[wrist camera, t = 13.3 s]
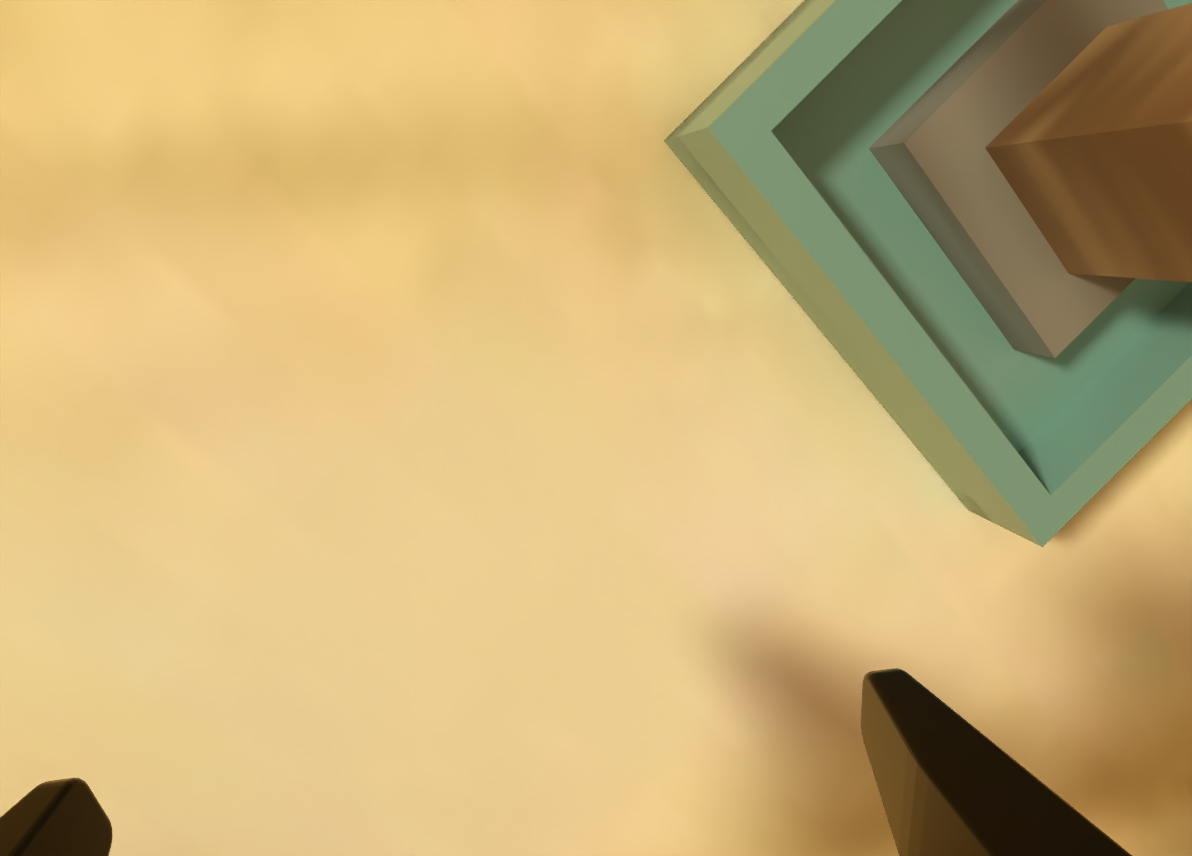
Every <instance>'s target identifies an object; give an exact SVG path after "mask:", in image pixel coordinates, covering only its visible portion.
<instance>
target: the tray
mask: <svg viewBox="0 0 1192 856" xmlns="http://www.w3.org/2000/svg"><path fill="white" fill-rule="evenodd" d="M1017 1H1018V0H805V1H804V2H803V3H802V4H801V5H800V6H799V7H798V8H797V9H796V10H795V11H794V12H793V13H792V14H791V15H790V16H789V17H788V18H787V19H786V20H785V21H784V22H783V23H782V24H781V25H780V26H779V27H778V28H777V29H776V30H775V31H774V32H773V33H772V34H771V35H770V36H769V37H768V38H767V39H766V40H765V41H764V42H763V43H762V44H761V45H760V46H759V47H758V48H757V49H756V50H755V51H754V52H753V53H752V54H751V55H750V56H749V57H748V58H747V59H746V60H745V61H744V62H743V63H742V64H741V65H740V66H739V67H738V68H737V69H736V70H735V71H734V72H733V73H732V74H731V75H730V76H729V77H728V78H727V79H726V80H725V81H724V82H723V83H722V84H721V85H720V86H719V87H718V88H717V89H716V90H715V91H714V92H713V93H712V94H711V95H710V96H709V97H708V98H707V99H706V100H705V101H704V102H703V103H702V104H701V105H700V106H699V107H698V108H697V109H696V110H695V111H694V112H693V113H692V114H691V115H690V116H689V117H688V118H687V119H686V120H685V121H684V122H683V123H682V124H681V125H680V126H679V127H678V128H677V129H676V130H675V131H674V132H673V133H672V134H671V135H669V136H668V137H667V138H666V139H665V140H664V141H665V142H666V143H667V145H668V146H669V147H670V148H671V149H672V151H673V152H674V153H675V154H676V156H677V157H678V158H679V159H680V160H681V162H682V163H683V164H684V165H685V166H686V168H687V169H688V170H689V171H690V173H691V174H692V175H693V176H694V177H695V179H696V180H697V181H698V182H699V183H700V185H701V186H702V187H703V188H704V190H705V191H706V192H707V193H708V194H709V196H710V197H711V198H712V199H713V200H714V202H715V203H716V204H717V205H718V207H719V208H720V209H721V210H722V211H723V213H724V214H725V215H726V216H727V217H728V219H729V220H730V221H731V222H732V224H733V225H734V226H735V227H736V228H737V230H738V231H739V232H740V233H741V234H742V236H743V237H744V238H745V239H746V241H747V242H748V243H749V244H750V245H751V247H752V248H753V249H754V250H755V251H756V253H757V254H758V255H759V256H760V258H761V259H762V260H763V261H764V262H765V264H766V265H767V266H768V267H769V268H770V270H771V271H772V272H773V273H774V275H775V276H776V277H777V278H778V279H779V281H780V282H781V283H782V284H783V286H784V287H785V288H786V289H787V290H788V292H789V293H790V294H791V295H792V296H793V298H794V299H795V300H796V301H797V303H798V304H799V305H800V306H801V307H802V309H803V310H804V311H805V312H806V313H807V315H808V316H809V317H810V318H811V320H812V321H813V322H814V323H815V324H816V326H817V327H818V328H819V329H820V330H821V332H822V333H823V334H824V335H825V337H826V338H827V339H828V340H829V341H830V343H831V344H832V345H833V346H834V347H835V349H836V350H837V351H838V352H839V354H840V355H841V356H842V357H843V358H844V360H845V361H846V362H847V363H848V364H849V366H850V367H851V368H852V369H853V371H854V372H855V373H856V374H857V375H858V377H859V378H860V379H861V380H862V381H863V383H864V384H865V385H866V386H867V388H868V389H869V390H870V391H871V392H872V394H873V395H874V396H875V397H876V398H877V400H878V401H879V402H880V403H881V405H882V406H883V407H884V408H885V409H886V411H887V412H888V413H889V414H890V415H891V417H892V418H893V419H894V420H895V422H896V423H897V424H898V425H899V426H900V428H901V429H902V430H903V431H904V432H905V434H906V435H907V436H908V437H909V439H910V440H911V441H912V442H913V443H914V445H915V446H916V447H917V448H918V449H919V451H920V452H921V453H922V454H923V456H924V457H925V458H926V459H927V460H928V462H929V463H930V464H931V465H932V466H933V468H934V469H935V470H936V471H937V473H938V474H939V475H940V476H941V477H942V479H943V480H944V481H945V482H946V483H947V485H948V486H949V487H950V488H951V490H952V491H953V492H954V493H955V494H956V496H957V497H958V498H959V499H960V500H961V502H962V503H963V504H964V505H965V507H966V508H967V509H968V510H969V511H971V512H973V513H975V514H977V515H979V516H981V517H983V518H985V519H987V520H989V521H991V522H993V523H995V524H997V525H999V526H1001V527H1003V528H1005V529H1007V530H1009V531H1011V532H1013V533H1015V534H1017V535H1019V536H1021V537H1023V538H1025V539H1027V540H1029V541H1031V542H1033V543H1035V544H1037V545H1039V546H1041V547H1043V546H1044V545H1045V544H1046V543H1047V542H1048V541H1049V540H1050V539H1051V538H1052V537H1053V536H1054V535H1055V534H1056V533H1057V532H1058V531H1059V530H1060V529H1061V528H1062V527H1063V526H1064V525H1065V524H1066V523H1067V522H1068V521H1069V520H1070V519H1071V518H1072V517H1073V516H1074V515H1075V514H1076V513H1077V512H1078V511H1079V510H1080V509H1081V508H1082V507H1083V506H1084V505H1085V504H1086V503H1087V502H1088V501H1089V500H1090V499H1091V498H1092V497H1093V496H1094V495H1095V494H1096V493H1097V492H1098V491H1099V490H1100V489H1101V488H1102V487H1103V486H1104V485H1106V484H1107V483H1108V482H1109V481H1110V480H1111V479H1112V478H1113V477H1114V476H1115V475H1116V474H1117V473H1118V472H1119V471H1120V470H1121V469H1122V468H1123V467H1124V466H1125V465H1126V464H1127V463H1128V462H1129V461H1130V460H1131V459H1132V458H1133V457H1134V456H1135V455H1136V454H1137V453H1138V452H1139V451H1140V450H1141V449H1142V448H1143V447H1144V446H1145V445H1146V444H1147V443H1148V442H1149V441H1150V440H1151V439H1152V438H1153V437H1154V436H1155V435H1156V434H1157V433H1158V432H1159V431H1160V430H1161V429H1162V428H1163V427H1164V426H1165V425H1166V424H1167V423H1168V422H1169V421H1170V420H1171V419H1172V418H1173V417H1174V416H1175V415H1176V414H1177V413H1178V412H1179V411H1180V410H1181V409H1182V408H1183V407H1184V406H1185V405H1186V404H1187V403H1188V402H1189V401H1190V400H1191V399H1192V282H1180V281H1167V280H1153V279H1139V278H1135V279H1134V280H1133V281H1132V282H1131V283H1130V284H1129V285H1128V286H1127V287H1126V288H1125V289H1124V290H1123V291H1122V292H1121V293H1120V294H1119V295H1118V296H1117V297H1116V298H1115V299H1114V300H1113V301H1112V302H1111V303H1110V304H1109V305H1108V306H1107V307H1106V308H1105V309H1104V310H1103V311H1102V312H1101V313H1100V314H1099V315H1098V316H1097V317H1096V318H1095V319H1094V320H1093V321H1092V322H1091V323H1090V324H1089V325H1088V326H1087V327H1086V328H1085V329H1084V330H1083V331H1082V332H1081V333H1080V334H1079V335H1078V336H1077V337H1076V338H1075V339H1074V340H1073V341H1072V342H1071V343H1070V344H1069V345H1068V346H1067V347H1066V348H1065V349H1064V350H1063V351H1062V352H1061V353H1060V354H1059V355H1058V356H1057V357H1056V358H1052V357H1047V356H1042V355H1037V354H1032V353H1028V352H1023V351H1018V350H1014V349H1013V348H1012V346H1011V345H1010V344H1009V342H1008V341H1007V339H1006V338H1005V337H1004V335H1003V334H1002V332H1001V331H1000V330H999V328H998V327H997V326H996V324H995V323H994V321H993V320H992V319H991V317H990V316H989V314H988V313H987V312H986V310H985V309H984V308H983V306H982V305H981V303H980V302H979V301H978V299H977V298H976V296H975V295H974V294H973V292H972V291H971V290H970V288H969V287H968V285H967V284H966V283H965V281H964V280H963V278H962V277H961V276H960V274H959V273H958V272H957V270H956V269H955V267H954V266H953V265H952V263H951V262H950V260H949V259H948V258H947V256H946V255H945V254H944V252H943V251H942V249H941V248H940V247H939V245H938V244H937V242H936V241H935V240H934V238H933V237H932V236H931V234H930V233H929V231H928V230H927V229H926V227H925V226H924V224H923V223H922V222H921V220H920V219H919V218H918V216H917V215H916V213H915V212H914V211H913V209H912V208H911V206H910V205H909V204H908V202H907V201H906V200H905V198H904V197H903V195H902V194H901V193H900V191H899V190H898V188H897V187H896V186H895V184H894V183H893V182H892V180H891V179H890V177H889V176H888V175H887V173H886V172H885V170H884V169H883V168H882V166H881V165H880V164H879V162H878V161H877V159H876V158H875V157H874V155H873V154H872V152H871V151H870V150H869V148H870V147H871V146H872V145H873V144H874V143H875V142H876V141H877V140H878V139H879V138H880V137H881V136H882V135H883V134H884V133H885V132H886V131H887V130H888V129H889V128H890V127H891V126H892V125H893V124H894V123H895V122H896V121H897V120H898V119H899V118H900V117H901V116H902V115H903V114H904V113H905V112H906V111H907V110H908V109H909V108H910V107H911V106H912V105H913V104H914V103H915V102H916V101H917V100H918V99H919V98H920V97H921V96H922V95H923V94H924V93H925V92H926V91H927V90H928V89H929V88H930V87H931V86H932V85H933V84H934V83H935V82H936V81H937V80H938V79H939V78H940V77H941V76H942V75H943V74H944V73H945V72H946V71H947V70H948V69H949V68H950V67H951V66H952V65H953V64H954V63H955V62H956V61H957V60H958V59H959V58H960V57H961V56H962V55H963V54H964V53H965V52H966V51H967V50H968V49H969V48H970V47H971V46H972V45H973V44H974V43H975V42H976V41H977V40H978V39H979V38H980V37H981V36H982V35H983V34H984V33H985V32H986V31H987V30H988V29H989V28H990V27H991V26H992V25H993V24H994V23H995V22H996V21H997V20H998V19H999V18H1000V17H1001V16H1002V15H1003V14H1004V13H1005V12H1006V11H1007V10H1008V9H1009V8H1010V7H1011V6H1012V5H1013V4H1015V3H1016V2H1017ZM1163 1H1164V3H1165V4H1166V6H1167V8H1168V9H1172V8H1176V7H1179V6H1183V5H1186V4H1190V3H1192V0H1163Z"/></svg>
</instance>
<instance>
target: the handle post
mask: <svg viewBox="0 0 1192 856" xmlns="http://www.w3.org/2000/svg"><path fill="white" fill-rule="evenodd" d="M869 150H870V151H871V152H872V154H873V155H874V157H875V158H876V159H877V161H878V162H879V164H880V165H881V166H882V168H883V169H884V170H885V172H886V173H887V175H888V176H889V177H890V179H891V180H892V182H893V183H894V184H895V186H896V187H897V188H898V190H899V191H900V193H901V194H902V195H903V197H904V198H905V200H906V201H907V202H908V204H909V205H910V206H911V208H912V209H913V211H914V212H915V213H916V215H917V216H918V218H919V219H920V220H921V222H922V223H923V224H924V226H925V227H926V229H927V230H928V231H929V233H930V234H931V236H932V237H933V238H934V240H935V241H936V242H937V244H938V245H939V247H940V248H941V249H942V251H943V252H944V254H945V255H946V256H947V258H948V259H949V260H950V262H951V263H952V265H953V266H954V267H955V269H956V270H957V272H958V273H959V274H960V276H961V277H962V278H963V280H964V281H965V283H966V284H967V285H968V287H969V288H970V290H971V291H972V292H973V294H974V295H975V296H976V298H977V299H978V301H979V302H980V303H981V305H982V306H983V308H984V309H985V310H986V312H987V313H988V314H989V316H990V317H991V319H992V320H993V321H994V323H995V324H996V326H997V327H998V328H999V330H1000V331H1001V332H1002V334H1003V335H1004V337H1005V338H1006V339H1007V341H1008V342H1009V344H1010V345H1011V346H1012V348H1013V349H1014V350H1018V351H1023V352H1028V353H1032V354H1037V355H1042V356H1047V357H1052V358H1056V357H1057V356H1058V355H1059V354H1060V353H1061V352H1062V351H1063V350H1064V349H1065V348H1066V347H1067V346H1068V345H1069V344H1070V343H1071V342H1072V341H1073V340H1074V339H1075V338H1076V337H1077V336H1078V335H1079V334H1080V333H1081V332H1082V331H1083V330H1084V329H1085V328H1086V327H1087V326H1088V325H1089V324H1090V323H1091V322H1092V321H1093V320H1094V319H1095V318H1096V317H1097V316H1098V315H1099V314H1100V313H1101V312H1102V311H1103V310H1104V309H1105V308H1106V307H1107V306H1108V305H1109V304H1110V303H1111V302H1112V301H1113V300H1114V299H1115V298H1116V297H1117V296H1118V295H1119V294H1120V293H1121V292H1122V291H1123V290H1124V289H1125V288H1126V287H1127V286H1128V285H1129V284H1130V283H1131V282H1132V281H1133V280H1134V279H1135V278H1139V279H1153V280H1167V281H1180V282H1192V3H1190V4H1186V5H1183V6H1179V7H1176V8H1172V9H1168V8H1167V6H1166V4H1165V3H1164V1H1163V0H1018V1H1017V2H1016V3H1015V4H1013V5H1012V6H1011V7H1010V8H1009V9H1008V10H1007V11H1006V12H1005V13H1004V14H1003V15H1002V16H1001V17H1000V18H999V19H998V20H997V21H996V22H995V23H994V24H993V25H992V26H991V27H990V28H989V29H988V30H987V31H986V32H985V33H984V34H983V35H982V36H981V37H980V38H979V39H978V40H977V41H976V42H975V43H974V44H973V45H972V46H971V47H970V48H969V49H968V50H967V51H966V52H965V53H964V54H963V55H962V56H961V57H960V58H959V59H958V60H957V61H956V62H955V63H954V64H953V65H952V66H951V67H950V68H949V69H948V70H947V71H946V72H945V73H944V74H943V75H942V76H941V77H940V78H939V79H938V80H937V81H936V82H935V83H934V84H933V85H932V86H931V87H930V88H929V89H928V90H927V91H926V92H925V93H924V94H923V95H922V96H921V97H920V98H919V99H918V100H917V101H916V102H915V103H914V104H913V105H912V106H911V107H910V108H909V109H908V110H907V111H906V112H905V113H904V114H903V115H902V116H901V117H900V118H899V119H898V120H897V121H896V122H895V123H894V124H893V125H892V126H891V127H890V128H889V129H888V130H887V131H886V132H885V133H884V134H883V135H882V136H881V137H880V138H879V139H878V140H877V141H876V142H875V143H874V144H873V145H872V146H871V147H870V148H869Z"/></svg>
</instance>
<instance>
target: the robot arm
mask: <svg viewBox="0 0 1192 856" xmlns="http://www.w3.org/2000/svg"><path fill="white" fill-rule="evenodd" d="M861 729H862V735H863V740H864V744H865V747H866V750H867V753H868V757H869V760H870V763H871V766H872V769H873V773H874V776H875V779H876V782H877V785H878V789H879V792H880V795H881V798H882V801H883V805H884V808H885V811H886V814H887V817H888V821H889V824H890V827H891V830H892V833H893V837H894V840H895V843H896V846H897V849H898V852H899V855H900V856H1132V855H1131V854H1129V853H1128V852H1127V851H1126V850H1124V849H1123V848H1122V847H1121V846H1120V845H1118V844H1117V843H1116V842H1115V841H1113V840H1112V839H1111V838H1110V837H1108V836H1107V835H1106V834H1105V833H1104V832H1102V831H1101V830H1100V829H1099V828H1097V827H1096V826H1095V825H1094V824H1092V823H1091V822H1090V821H1089V820H1088V819H1086V818H1085V817H1084V816H1083V815H1081V814H1080V813H1079V812H1078V811H1076V810H1075V809H1074V808H1073V807H1072V806H1070V805H1069V804H1068V803H1067V802H1065V801H1064V800H1063V799H1062V798H1060V797H1059V796H1058V795H1057V794H1056V793H1054V792H1053V791H1052V790H1051V789H1049V788H1048V787H1047V786H1046V785H1044V784H1043V783H1042V782H1041V781H1040V780H1038V779H1037V778H1036V777H1035V776H1033V775H1032V774H1031V773H1030V772H1028V771H1027V770H1026V769H1025V768H1024V767H1022V766H1021V765H1020V764H1019V763H1017V762H1016V761H1015V760H1014V759H1012V758H1011V757H1010V756H1009V755H1008V754H1006V753H1005V752H1004V751H1003V750H1001V749H1000V748H999V747H998V746H996V745H995V744H994V743H993V742H992V741H990V740H989V739H988V738H987V737H985V736H984V735H983V734H982V733H980V732H979V731H978V730H977V729H976V728H974V727H973V726H972V725H971V724H969V723H968V722H967V721H966V720H964V719H963V718H962V717H961V716H960V715H958V714H957V713H956V712H955V711H953V710H952V709H951V708H950V707H948V706H947V705H946V704H945V703H944V702H942V701H941V700H940V699H939V698H937V697H936V696H935V695H934V694H932V693H931V692H930V691H929V690H928V689H926V688H925V687H924V686H923V685H921V684H920V683H919V682H918V681H916V680H915V679H914V678H913V677H912V676H910V675H909V674H908V673H907V672H905V671H903V670H901V669H887V670H879V671H872V672H869V673H867V674H866V675H865V677H864V680H863V690H862V709H861ZM111 843H112V827H111V823H110V820H109V818H108V817H107V815H106V813H105V812H104V810H103V809H102V807H101V805H100V804H99V802H98V801H97V799H96V797H95V796H94V794H93V792H92V791H91V789H90V788H89V786H88V785H87V783H86V782H85V781H83V780H81V779H79V778H69V779H62V780H54V781H48V782H45V783H42V784H40V785H38V786H37V787H36V788H34V789H33V790H32V791H31V792H29V793H28V794H27V795H26V796H25V797H24V798H22V799H21V800H20V801H19V802H18V803H17V804H15V805H14V806H13V807H12V808H11V809H10V810H8V811H7V812H6V813H5V814H4V815H3V816H2V817H0V856H109V852H110V848H111Z"/></svg>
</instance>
